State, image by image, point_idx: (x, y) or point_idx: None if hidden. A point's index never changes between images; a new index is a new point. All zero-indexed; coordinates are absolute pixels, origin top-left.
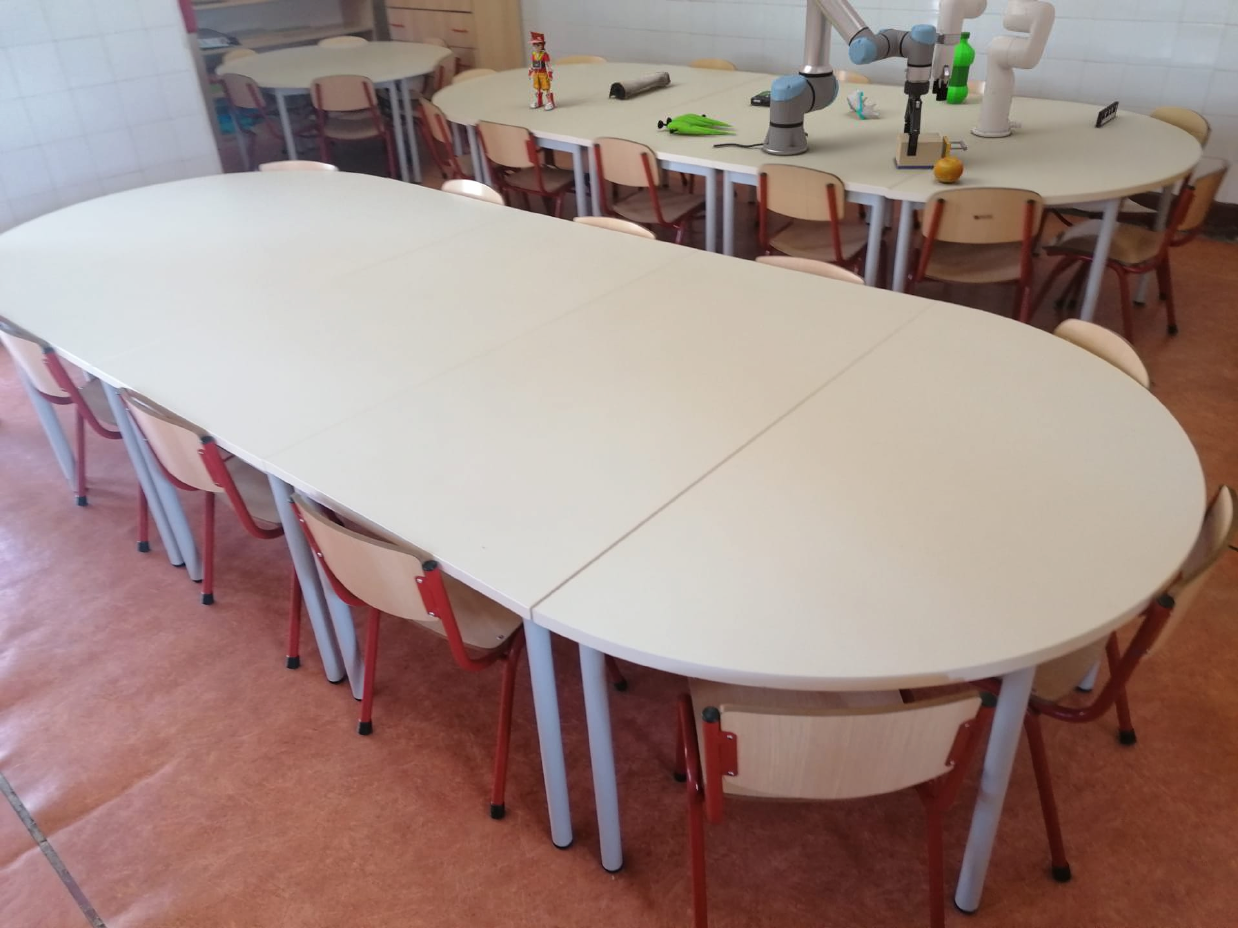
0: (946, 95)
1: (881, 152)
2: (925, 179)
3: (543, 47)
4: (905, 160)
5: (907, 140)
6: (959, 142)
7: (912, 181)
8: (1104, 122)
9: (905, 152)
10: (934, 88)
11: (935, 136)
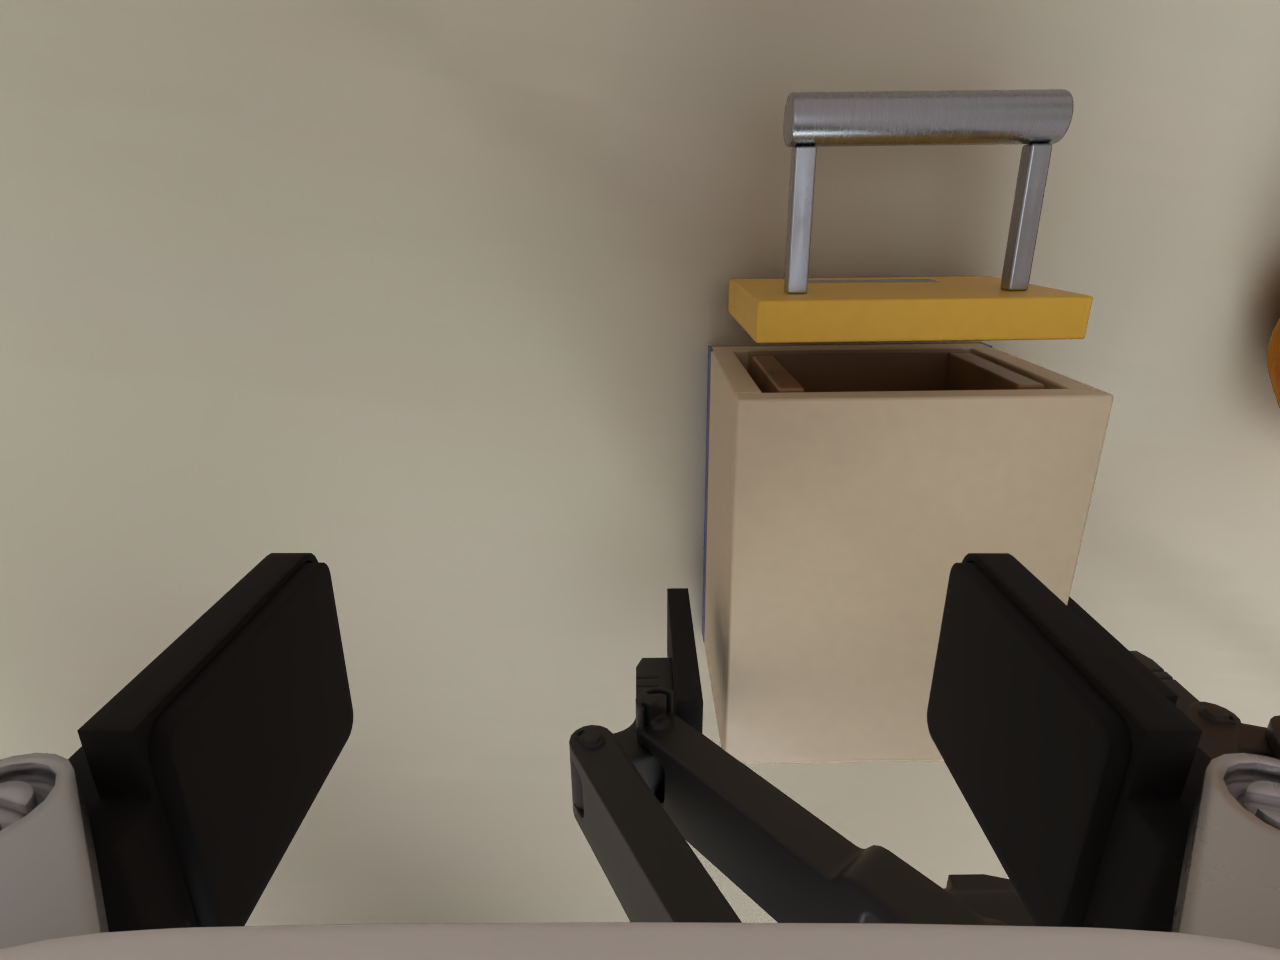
0: (1058, 616)
1: (530, 700)
2: (1227, 474)
3: None
4: None
5: None
6: (814, 147)
7: (1245, 563)
8: None
9: None
10: (304, 785)
11: (890, 451)
